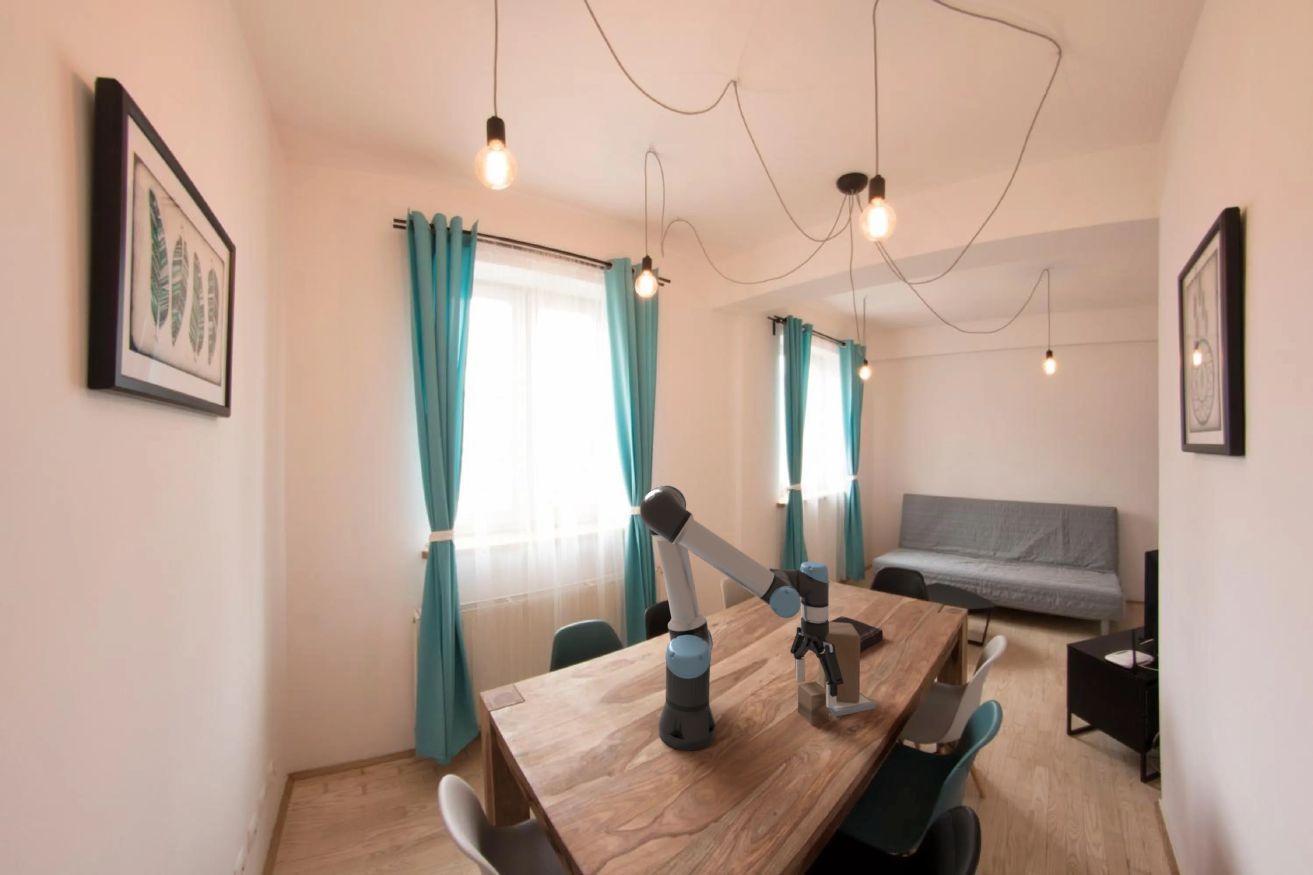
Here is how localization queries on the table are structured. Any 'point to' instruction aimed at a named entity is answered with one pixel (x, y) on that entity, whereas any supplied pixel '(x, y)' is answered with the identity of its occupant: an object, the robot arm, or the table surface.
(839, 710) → the board
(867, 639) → the diary
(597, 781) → the table surface
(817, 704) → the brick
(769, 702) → the table surface
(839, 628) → the block
